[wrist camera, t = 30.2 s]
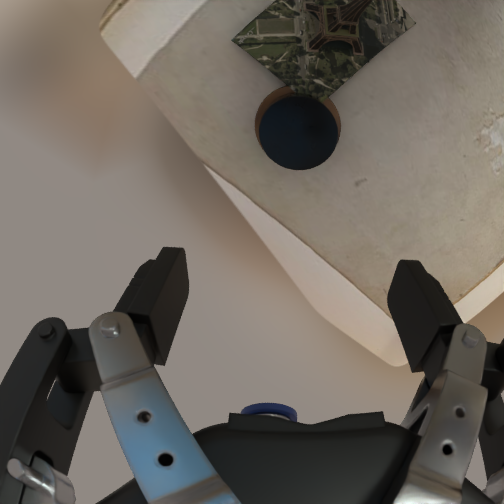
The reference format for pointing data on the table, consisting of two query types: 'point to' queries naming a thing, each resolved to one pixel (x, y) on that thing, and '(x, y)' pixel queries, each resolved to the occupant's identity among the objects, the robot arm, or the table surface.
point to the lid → (298, 131)
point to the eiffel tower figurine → (321, 39)
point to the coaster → (285, 91)
